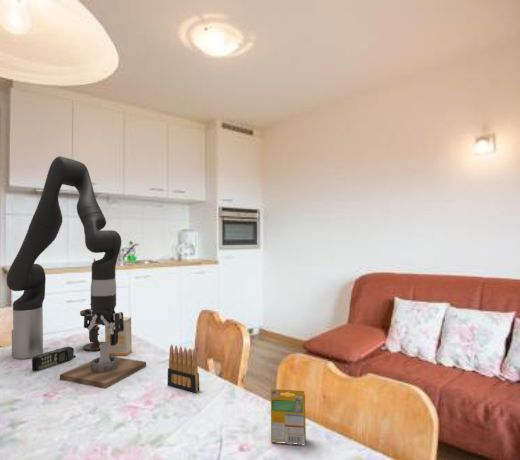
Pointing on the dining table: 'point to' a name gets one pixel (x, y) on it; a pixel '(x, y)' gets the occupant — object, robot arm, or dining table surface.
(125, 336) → the supplement box
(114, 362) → the metal collar
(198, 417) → the dining table surface
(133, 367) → the walnut plate
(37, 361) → the mobile phone
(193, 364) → the ammunition clip
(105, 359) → the rook chess piece
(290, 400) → the crayon box
